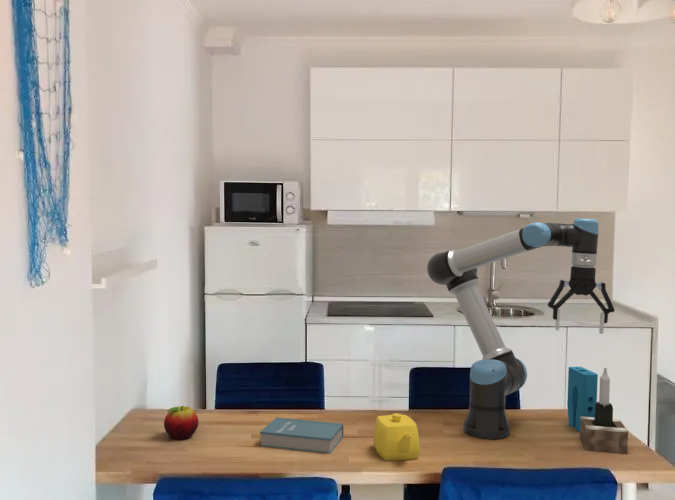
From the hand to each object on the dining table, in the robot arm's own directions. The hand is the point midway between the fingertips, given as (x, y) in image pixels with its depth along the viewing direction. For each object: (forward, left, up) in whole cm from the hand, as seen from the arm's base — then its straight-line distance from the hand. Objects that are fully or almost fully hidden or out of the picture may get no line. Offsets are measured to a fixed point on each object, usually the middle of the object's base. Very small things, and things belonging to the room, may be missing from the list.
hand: (578, 331), depth 211 cm
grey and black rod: (+8, -4, -36) cm, 37 cm away
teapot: (-55, -28, -36) cm, 72 cm away
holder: (+8, -4, -35) cm, 36 cm away
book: (-86, -25, -36) cm, 96 cm away
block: (+4, +13, -36) cm, 38 cm away
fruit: (-124, -30, -36) cm, 133 cm away
